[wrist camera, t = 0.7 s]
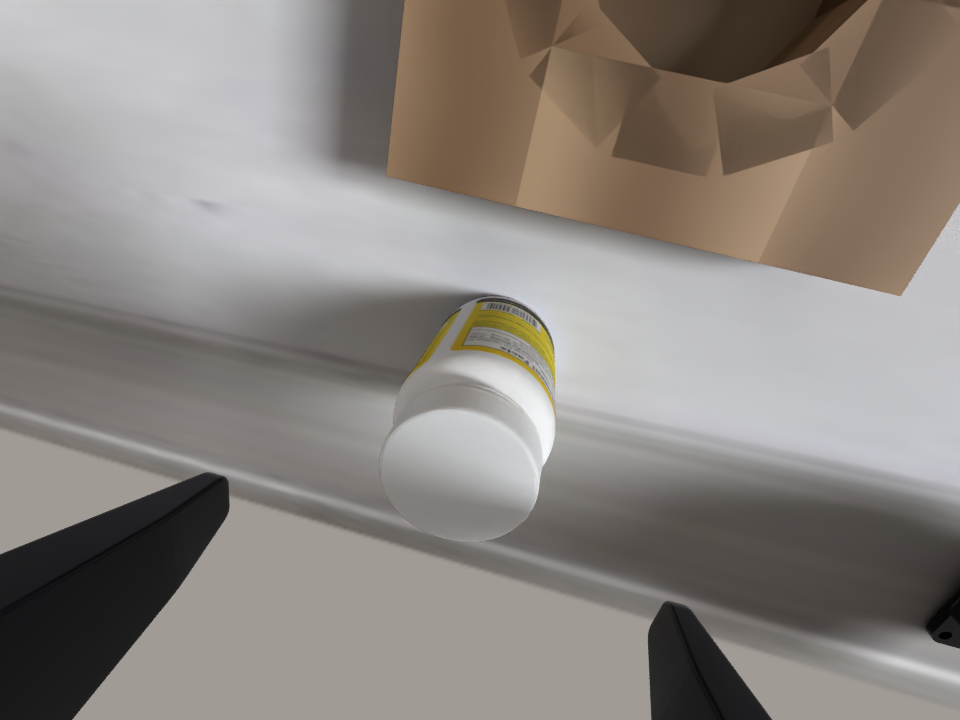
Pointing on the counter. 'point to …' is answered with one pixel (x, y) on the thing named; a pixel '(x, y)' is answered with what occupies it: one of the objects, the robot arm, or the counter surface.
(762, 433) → the counter surface
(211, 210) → the counter surface
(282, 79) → the counter surface
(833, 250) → the wooden holder block
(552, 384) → the supplement bottle
